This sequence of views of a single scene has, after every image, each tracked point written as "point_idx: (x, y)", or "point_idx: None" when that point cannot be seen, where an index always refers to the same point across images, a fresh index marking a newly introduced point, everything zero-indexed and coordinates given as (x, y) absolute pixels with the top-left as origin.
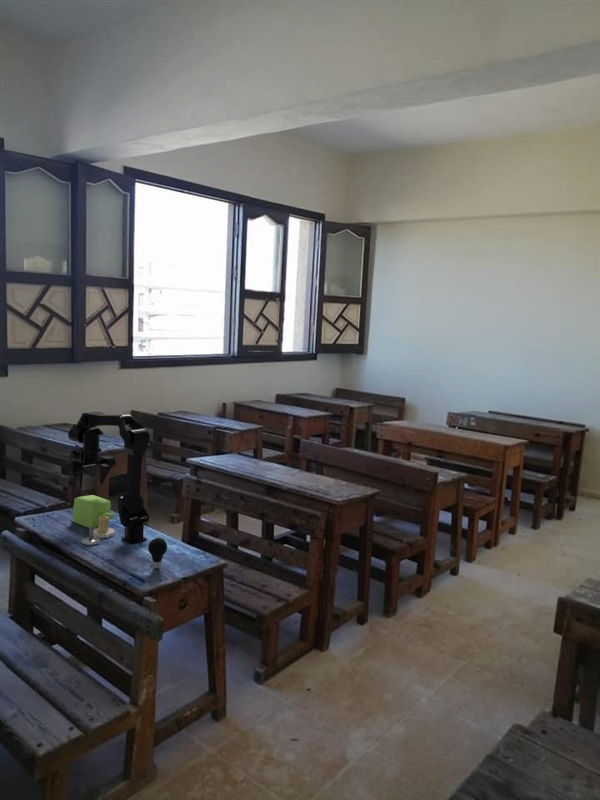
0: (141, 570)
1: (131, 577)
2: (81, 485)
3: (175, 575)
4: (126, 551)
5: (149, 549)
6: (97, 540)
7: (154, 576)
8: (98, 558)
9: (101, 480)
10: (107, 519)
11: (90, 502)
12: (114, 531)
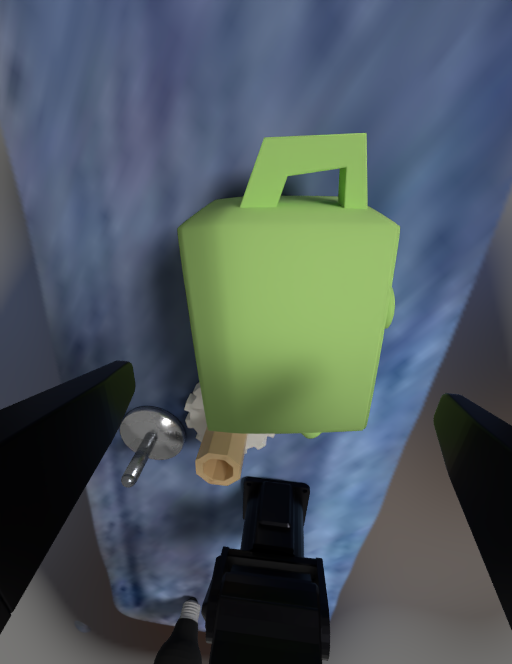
0: (162, 586)
1: (127, 587)
2: (113, 431)
3: (201, 624)
4: (200, 526)
5: (154, 661)
6: (166, 453)
7: (167, 607)
8: (115, 508)
9: (458, 459)
10: (225, 480)
11: (217, 397)
12: (259, 448)
